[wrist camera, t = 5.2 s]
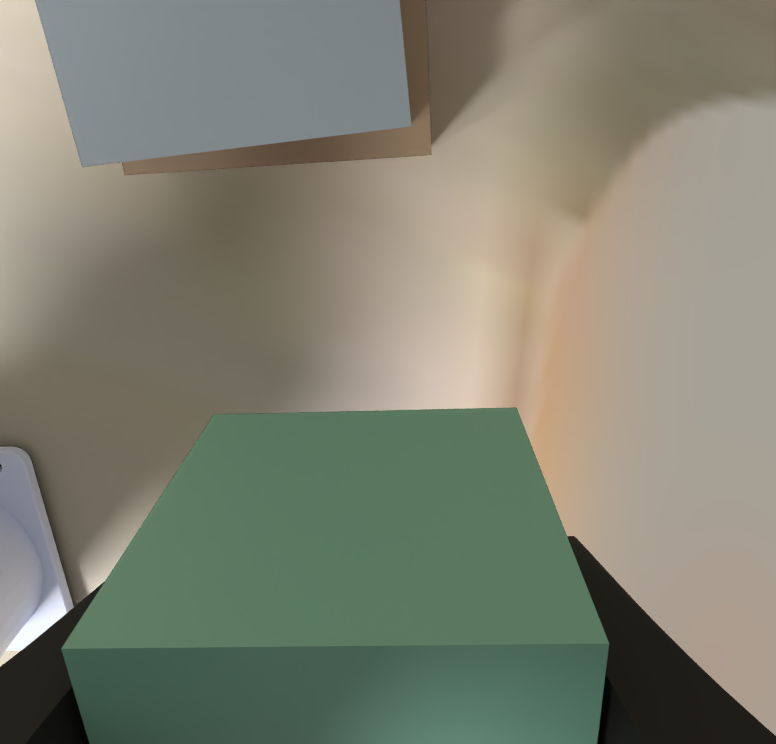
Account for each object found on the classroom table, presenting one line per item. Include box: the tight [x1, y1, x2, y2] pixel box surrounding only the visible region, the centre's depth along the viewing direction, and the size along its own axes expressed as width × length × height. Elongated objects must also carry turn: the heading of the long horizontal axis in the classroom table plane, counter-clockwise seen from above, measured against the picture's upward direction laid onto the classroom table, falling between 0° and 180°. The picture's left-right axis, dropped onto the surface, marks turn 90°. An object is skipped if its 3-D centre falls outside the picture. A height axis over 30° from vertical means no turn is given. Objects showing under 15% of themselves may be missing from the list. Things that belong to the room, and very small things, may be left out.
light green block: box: [61, 408, 609, 744], centre depth 8 cm, size 4×4×4 cm
